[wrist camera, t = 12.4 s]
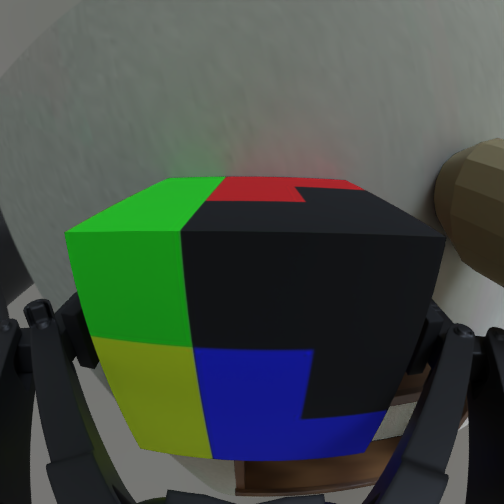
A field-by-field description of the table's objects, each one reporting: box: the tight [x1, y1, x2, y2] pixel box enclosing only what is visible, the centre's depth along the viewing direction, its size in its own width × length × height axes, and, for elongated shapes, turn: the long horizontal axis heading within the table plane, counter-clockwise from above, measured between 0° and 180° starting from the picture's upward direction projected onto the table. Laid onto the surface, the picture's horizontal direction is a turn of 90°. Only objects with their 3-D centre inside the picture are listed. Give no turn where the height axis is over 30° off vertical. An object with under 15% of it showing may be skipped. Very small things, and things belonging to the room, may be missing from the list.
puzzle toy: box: [64, 177, 446, 461], centre depth 13 cm, size 10×10×10 cm
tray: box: [234, 362, 468, 496], centre depth 20 cm, size 21×16×6 cm
